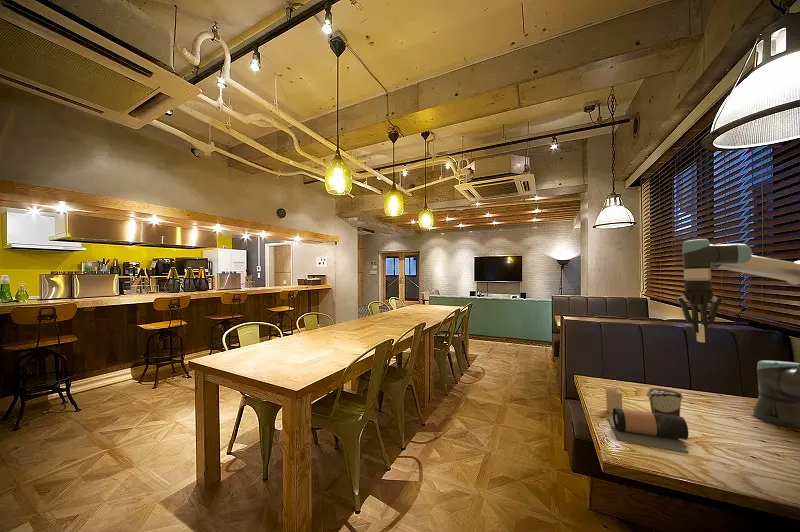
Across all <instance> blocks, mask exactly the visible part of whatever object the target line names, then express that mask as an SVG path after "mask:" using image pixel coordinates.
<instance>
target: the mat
mask: <svg viewBox="0 0 800 532" xmlns="http://www.w3.org/2000/svg"><path fill="white" fill-rule="evenodd" d="M607 418H608V421H609V423H610V427H611V428H612V431H613V433H614V436H615V438H616V440H617V441H619V442H625V443H629V444H635V443H636V445H640V444H641V446H646V445H647V446H646V447H651V446H652V448H656V447H658V448H657V449H662V448H664V450H667V449H669V451H673V452H678V453H679V452H680V453H684V454H689V451H688V449H687V448H686V446H684V444H683V443H682V442H681V440H680V439H677V438H668V437H660V436H652V435H646V434H639V433H633V432H626V431H620V430H616V428H615V426H614V421H613V417H607Z"/></svg>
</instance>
